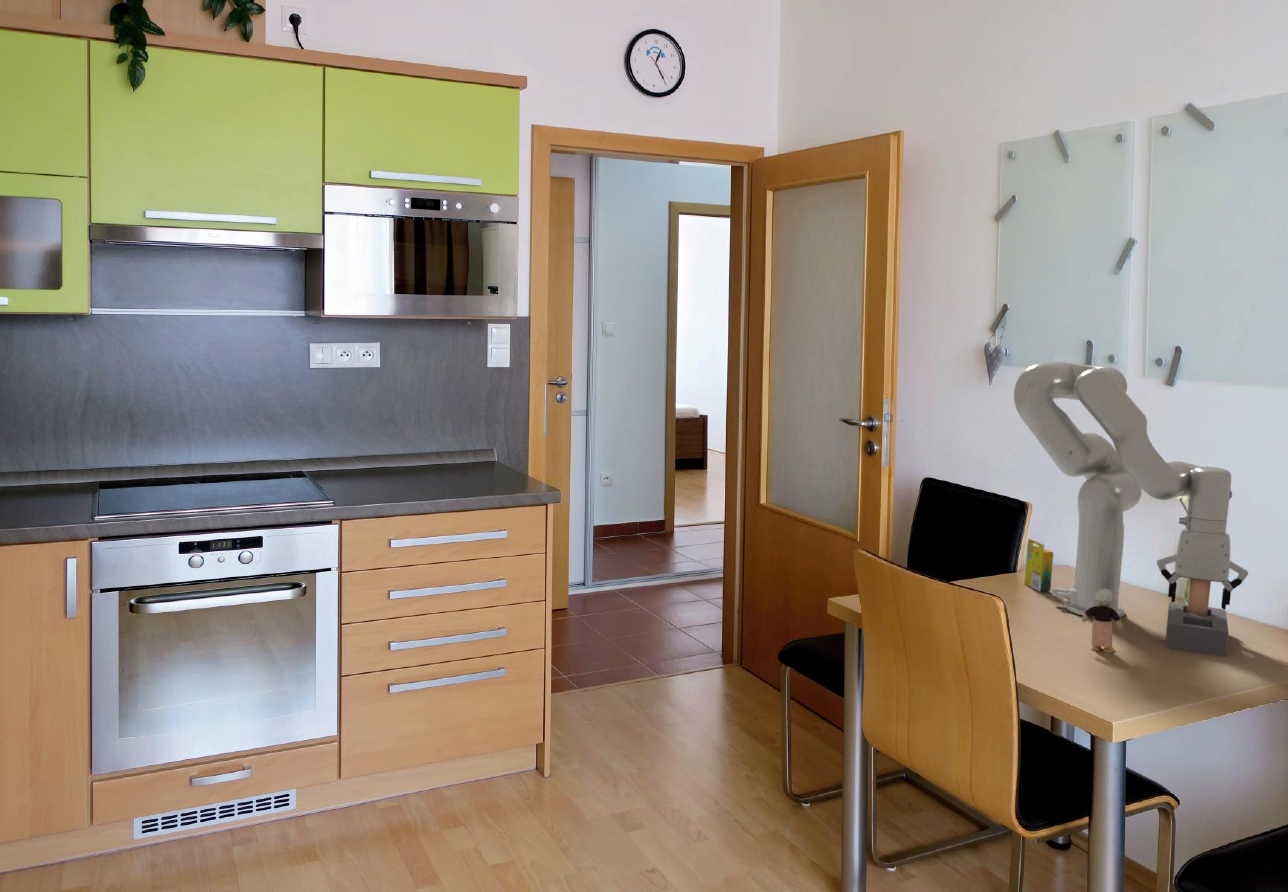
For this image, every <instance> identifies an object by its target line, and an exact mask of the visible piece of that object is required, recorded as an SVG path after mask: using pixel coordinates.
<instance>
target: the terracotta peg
mask: <svg viewBox="0 0 1288 892" xmlns="http://www.w3.org/2000/svg"><path fill="white" fill-rule="evenodd" d="M1211 585H1212V581H1205V580H1197V579H1190V578H1189V586H1188V594H1187V612H1186V613H1192V614H1200V615H1207V614H1208V607H1209V606H1210V605H1209V602H1210V593H1211Z"/></svg>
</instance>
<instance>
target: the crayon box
mask: <svg viewBox="0 0 1288 892" xmlns="http://www.w3.org/2000/svg"><path fill="white" fill-rule="evenodd" d="M1027 540H1028V541H1027V547H1026V557H1025V558H1026V560H1025V570H1024V573H1025V574H1024V585H1026V586H1028V587H1030V588H1032V589H1034V590H1036V591H1038V592H1039V593H1043V592H1045V593H1049V592H1051V587H1052V575H1053V574H1052V573H1053V562H1054V552H1053V551H1051V550H1049V549H1046V548H1044V547H1045V544H1043V543H1041V542H1038V541H1036V540H1033V539H1031V538H1028V539H1027ZM1033 544H1036V545H1033Z"/></svg>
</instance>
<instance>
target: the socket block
mask: <svg viewBox="0 0 1288 892" xmlns="http://www.w3.org/2000/svg"><path fill="white" fill-rule="evenodd" d="M1186 612H1187V604H1186V603H1180V602H1171V601H1169V602H1168V610H1167V619H1166V633H1165V636H1166V637H1165V648H1170V649H1176V650H1177V649H1178V650H1181V651H1182V650H1184V651H1189V652H1196V653H1202V654H1204V653H1205V654H1208V655H1215V656H1222V657H1223V656H1224V657H1227V650H1228V649H1227V648H1228V642H1229V641H1228V640H1229V627H1228V626H1229V625H1228V619H1227V618H1228V617H1227V616H1228V615H1227V610H1226V609H1223V608H1218V607H1217V608H1216V607H1209V606H1208V614H1207V615H1200V614H1192V613H1186Z"/></svg>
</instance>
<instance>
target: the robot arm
mask: <svg viewBox="0 0 1288 892" xmlns="http://www.w3.org/2000/svg"><path fill="white" fill-rule="evenodd" d="M1127 390H1128V381H1127V379H1126V377H1125V375H1124V374H1123V373H1122V372H1121V371H1120V370H1117V369H1116V368H1113V367H1109V366H1097V365H1091V364H1090V365H1089V364H1080V363H1073V362H1066V361H1065V362H1064V361H1062V362H1061V361H1060V362H1059V361H1058V362H1057V361H1056V362H1055V361H1054V362H1043V363H1036V364H1032V365H1030V366H1029V367H1027V368H1026V369H1024V370H1023V371H1022V372H1021V373H1020V374H1019V376H1018V378H1017V381H1016V382H1015V385H1014V389H1013V402H1014V406H1015V409H1016V411H1017V413H1018V415H1019V416H1020V418H1021V419H1022V421H1023V423H1024V424H1025V425H1026V426H1027V428H1028V429H1029V430H1030V431H1031V433H1032V434H1033V436H1035V438H1036V439H1037V440H1038V442H1039V444H1040V445H1041V446H1042V448H1043V449H1044V450H1045V451H1046V453H1047V454H1048V456H1049V457H1050V459H1052V461H1053V463H1055V465H1056V466H1057V468H1058V469H1059V470H1060V471H1061V472H1062V473H1063V474H1064V475H1066V476H1068V477H1073V478H1074V477H1082V476H1083V477H1085V479H1086V480H1085V482H1083V483H1082V485H1081V486H1080V488H1079V492H1078V495H1077V510H1078V533H1077V548H1076V557H1075V570H1074V582H1073V586H1072V588H1070V587H1068V588H1067V589H1066V588H1065V589H1064V588H1062V587H1061V588H1060V587H1053V588H1052V596H1053V597H1056V598H1057V599H1062V600H1063V599H1065V600H1066V601H1065V603H1064V608H1065V609H1066V610H1067V611H1069V612H1071V613H1073V614H1076V615H1080V616H1082V617H1083V616H1084V614H1085V611H1087V610H1088V609H1089V608H1091V607H1093V606H1101V605H1100V604H1099V603H1098V601H1097V600H1096V599H1095V596H1096V594H1097V593H1098V591H1100V590H1102V589H1109V590H1111V591H1112V593H1113V599H1112V602H1111V604H1110V605H1109V606H1107V607H1110V608H1112V609H1114V610H1115V611H1116V612H1117V614H1118V615H1119V617H1120V618H1122V617H1123V616H1125V613H1126V612H1125V611H1126V610H1125V608H1124V607H1123V606H1121V605H1120V604H1119V595H1120V586H1121V585H1120V584H1121V574H1122V573H1121V572H1122V565H1123V564H1122V562H1123V555H1124V554H1123V553H1124V539H1125V526H1124V525H1125V524H1124V514H1123V513H1124V512H1125V511H1126V512H1127V511H1129V510H1130V509H1133V508H1134V507H1135V506H1137V504H1139V502H1140V500H1141V498H1142V493H1143V492H1142V491H1144V492H1145V494H1147V495H1148V496H1150V497H1152V498H1154V499H1156V500H1160V501H1169V500H1171V499H1175V498H1176V497H1183V496H1188V504H1187V513H1186V515H1187V516H1184V517H1179V518H1178V519H1179V520H1178V524H1179V525H1180V524H1181V525H1184V527H1185V528H1182V529H1181V532H1180V535H1179V539H1178V544H1177V549H1176V553H1175V554H1172V555H1169V556H1167V557H1163V558H1160V559H1157V561H1156V565H1157V567H1158V569H1159V571H1160V573H1161V576H1163V578H1165V580H1166V581H1167V582H1168V583H1169V584H1168V593H1167V597H1168V598H1171V599H1170V600H1171V601H1170V602H1173V603H1176V597H1177V596H1176V595H1177V585H1178V583H1177V581H1178V580H1179V579H1180V578H1183V579H1189V580H1190V579H1197V580H1205V581H1211V582H1215V583H1221V584H1222V585H1223V588H1222V595H1221V604H1220V606H1221V609H1225V610H1226V608H1227V607H1226V606H1230V604H1231V595H1232V591H1233V590H1234V589H1236V588H1237V587H1239V586H1240V585H1242V583H1243V582H1245V579H1246V578H1247V576H1249V572H1248V570H1247V569H1245V568H1244V567H1242V566H1240V565H1238V564H1237V563H1235V562H1234V561H1233V560H1231V537H1230V534H1229V533H1227V526H1228V525H1227V524H1228V514H1229V506H1230V505H1229V504H1230V495H1231V485H1232V473H1231V472H1230V471H1229V470H1228V469H1224V468H1222V467H1215V466H1200V465H1197V464H1192V463H1188V462H1185V461H1179V460H1177V461H1176V460H1175V461H1174V460H1173V461H1169V462H1167V461H1165V459H1164V458H1163V457H1162V456H1161V455H1160V454H1159V453H1158V451H1157V450H1156V448H1155V447H1154V446H1153V444H1152V442H1151V439H1150V438H1149V435H1148V420H1147V417H1146V415H1145V414H1144V413H1143V411H1142V410H1141V409H1140V408H1139V407H1138V406H1137V404H1136V403H1135V402H1134V401H1133V400H1132V398H1130V396H1129V395H1128V394H1127ZM1055 399H1068V400H1076V401H1079V402H1080V403H1081V404H1082V406H1084V408H1085V409H1086V411H1088V412H1089V414H1090V415H1091V416H1092V417H1093V419H1095V421H1096V422H1097V423H1098V424H1099V425H1100V427H1101V428H1102V429H1103V431H1104V432H1105V433H1106V434H1107V436H1108V437H1109V438H1110V440H1111V441H1112V442H1113V445H1112V444H1111V443H1110V441H1108V440H1107V439H1106V438H1105V437H1104V436H1101V435H1099V434H1097V433H1093V432H1084V433H1083V432H1082V431H1081V430H1080V429H1079V428H1078V427H1077V426H1076V425H1075V424H1074V422H1073V421H1072V420H1071V419H1072V418H1071V417H1069V415H1068V414H1067V413H1066V412H1065V411H1064V410H1063V409H1061V407H1059V406H1058V405H1057V403H1055V401H1054V400H1055ZM1172 563H1174V572H1173V573H1171V572H1170V571H1169V570H1168V569H1167V568H1166V566H1167V565H1168V564H1172ZM1230 570H1231V571H1234V572H1236V573H1237V574H1238V575H1237V577H1236V578H1234V579H1232V580H1231V581H1230V579H1229V576H1230ZM1093 619H1095V617H1093Z"/></svg>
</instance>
